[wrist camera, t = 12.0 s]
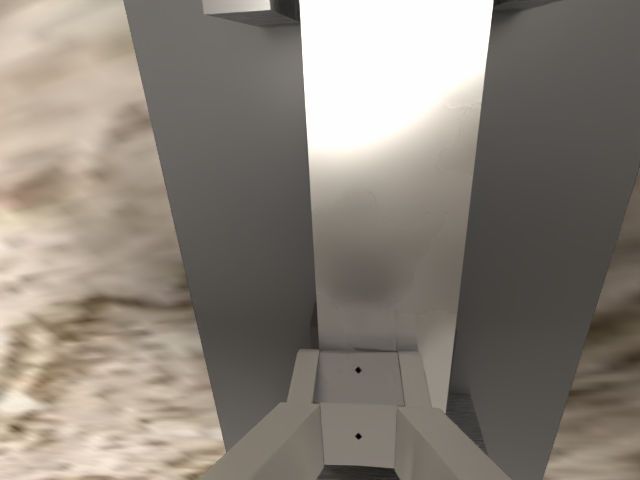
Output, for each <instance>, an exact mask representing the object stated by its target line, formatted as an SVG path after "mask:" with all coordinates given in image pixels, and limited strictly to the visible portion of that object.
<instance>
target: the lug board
mask: <svg viewBox="0 0 640 480" xmlns="http://www.w3.org/2000/svg"><path fill="white" fill-rule="evenodd" d="M123 1H124V5H125V10H126V14H127V18H128V23H129V27H130V32H131V36H132V40H133V45H134V49H135V53H136V58H137V62H138V67H139V71H140V75H141V80H142V84H143V89H144V93H145V97H146V102H147V106H148V111H149V115H150V119H151V124H152V128H153V132H154V137H155V141H156V146H157V150H158V154H159V159H160V163H161V168H162V172H163V176H164V181H165V185H166V190H167V194H168V198H169V203H170V207H171V212H172V216H173V220H174V225H175V229H176V233H177V238H178V242H179V247H180V251H181V255H182V260H183V264H184V269H185V273H186V277H187V282H188V286H189V291H190V295H191V299H192V304H193V308H194V313H195V317H196V321H197V326H198V330H199V334H200V339H201V343H202V348H203V352H204V356H205V361H206V365H207V370H208V374H209V378H210V383H211V387H212V392H213V396H214V400H215V405H216V409H217V414H218V418H219V422H220V427H221V431H222V435H223V440H224V444H225V449H226V453H227V452H228V451H229V450H230V449H231V448H232V447H233V446H234V445H235V444H236V443H238V442H239V441H240V440H241V439H242V438H243V437H244V436H245V435H246V434H247V433H248V432H249V431H250V430H251V429H252V428H253V427H255V426H256V425H257V424H258V423H259V422H260V421H261V420H262V419H263V418H264V417H265V416H266V415H267V414H268V413H269V412H270V411H272V410H273V409H274V408H275V407H276V406H277V405H278V404H279V403H280V402H287V398H288V394H289V389H290V384H291V380H292V375H293V370H294V366H295V361H296V356H297V353H298V351H299V349H316V350H319V335H318V317H317V299H316V281H315V264H314V246H313V228H312V211H311V193H310V175H309V158H308V140H307V122H306V104H305V87H304V69H303V51H302V34H301V16H300V0H123ZM639 167H640V0H493V8H492V16H491V25H490V34H489V42H488V51H487V60H486V68H485V77H484V86H483V94H482V103H481V111H480V120H479V129H478V137H477V146H476V155H475V163H474V172H473V181H472V189H471V198H470V207H469V215H468V224H467V233H466V241H465V250H464V258H463V267H462V276H461V284H460V293H459V302H458V310H457V319H456V328H455V336H454V345H453V354H452V362H451V371H450V380H449V388H448V397H447V405H446V415H447V416H448V417H449V418H450V419H451V420H452V421H453V422H454V423H455V424H456V425H457V426H458V427H459V428H460V429H461V430H462V431H463V432H464V433H465V434H466V435H467V436H468V437H469V438H470V439H471V440H472V441H473V442H474V443H475V444H476V445H477V446H478V447H479V448H480V449H481V450H482V451H483V452H484V453H485V454H486V455H487V456H488V457H489V458H490V459H491V460H492V461H493V462H494V463H495V464H496V465H497V466H498V467H499V468H500V469H501V470H502V471H503V472H504V473H505V474H506V475H507V476H508V477H509V478H510V479H511V480H542V479H543V476H544V473H545V469H546V466H547V463H548V460H549V457H550V453H551V450H552V447H553V444H554V440H555V437H556V434H557V431H558V428H559V424H560V421H561V418H562V415H563V411H564V408H565V405H566V402H567V399H568V395H569V392H570V389H571V386H572V383H573V379H574V376H575V373H576V370H577V366H578V363H579V360H580V357H581V354H582V350H583V347H584V344H585V341H586V337H587V334H588V331H589V328H590V325H591V321H592V318H593V315H594V312H595V308H596V305H597V302H598V299H599V296H600V292H601V289H602V286H603V283H604V279H605V276H606V273H607V270H608V267H609V263H610V260H611V257H612V254H613V251H614V247H615V244H616V241H617V238H618V234H619V231H620V228H621V225H622V222H623V218H624V215H625V212H626V209H627V205H628V202H629V199H630V196H631V193H632V189H633V186H634V183H635V180H636V176H637V173H638V170H639ZM316 480H400V478H399V477H398V475H397V474H396V472H395V468H383V467H370V466H358V465H324V468H323V470H322V471H321V473H320V474H319V476H318V477H317V479H316Z"/></svg>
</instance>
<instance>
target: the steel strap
mask: <svg viewBox="0 0 640 480" xmlns="http://www.w3.org/2000/svg"><path fill="white" fill-rule="evenodd" d="M492 8H493V0H300V16H301V34H302V51H303V69H304V87H305V104H306V122H307V140H308V158H309V175H310V193H311V211H312V228H313V246H314V264H315V281H316V299H317V317H318V335H319V350H321V349H324V350H346V351H381V352H398V351H419V352H420V353H421V356H422V361H423V365H424V370H425V375H426V380H427V384H428V389H429V394H430V399H431V403H432V408H440V409H441V410H442V411H443V412H444V413H445V414H446V405H447V397H448V388H449V380H450V371H451V362H452V354H453V345H454V336H455V328H456V319H457V310H458V302H459V293H460V284H461V276H462V267H463V258H464V250H465V241H466V233H467V224H468V215H469V207H470V198H471V189H472V181H473V172H474V163H475V155H476V146H477V137H478V129H479V120H480V111H481V103H482V94H483V86H484V77H485V68H486V60H487V51H488V42H489V34H490V25H491V16H492Z"/></svg>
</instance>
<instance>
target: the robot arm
mask: <svg viewBox="0 0 640 480" xmlns="http://www.w3.org/2000/svg"><path fill="white" fill-rule="evenodd" d="M324 465H358V466H370V467H383V468H395V472H396V474H397V475H398V477H399V478H400V480H511V479H510V478H509V477H508V476H507V475H506V474H505V473H504V472H503V471H502V470H501V469H500V468H499V467H498V466H497V465H496V464H495V463H494V462H493V461H492V460H491V459H490V458H489V457H488V456H487V455H486V454H485V453H484V452H483V451H482V450H481V449H480V448H479V447H478V446H477V445H476V444H475V443H474V442H473V441H472V440H471V439H470V438H469V437H468V436H467V435H466V434H465V433H464V432H463V431H462V430H461V429H460V428H459V427H458V426H457V425H456V424H455V423H454V422H453V421H452V420H451V419H450V418H449V417H448V416H447V415H446V414H445V413H444V412H443V411H442V410H441V409H440V408H432V403H431V399H430V394H429V389H428V384H427V380H426V375H425V370H424V365H423V361H422V356H421V353H420V352H419V351H398V352H381V351H346V350H324V349H321V350H316V349H299V351H298V353H297V356H296V361H295V366H294V370H293V375H292V380H291V384H290V389H289V394H288V398H287V402H280V403H279V404H278V405H277V406H276V407H275V408H274V409H273V410H272V411H270V412H269V413H268V414H267V415H266V416H265V417H264V418H263V419H262V420H261V421H260V422H259V423H258V424H257V425H256V426H255V427H253V428H252V429H251V430H250V431H249V432H248V433H247V434H246V435H245V436H244V437H243V438H242V439H241V440H240V441H239V442H238V443H236V444H235V445H234V446H233V447H232V448H231V449H230V450H229V451H228V452H227V453H226V454H225V455H224V456H223V457H222V458H221V459H219V460H218V461H217V462H216V463H215V464H214V465H213V466H212V467H211V468H210V469H209V470H208V471H207V472H206V473H205V474H203V475H202V476H201V477H200V478H199V479H198V480H316V479H317V477H318V476H319V474H320V473H321V471H322V470H323V468H324Z"/></svg>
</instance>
